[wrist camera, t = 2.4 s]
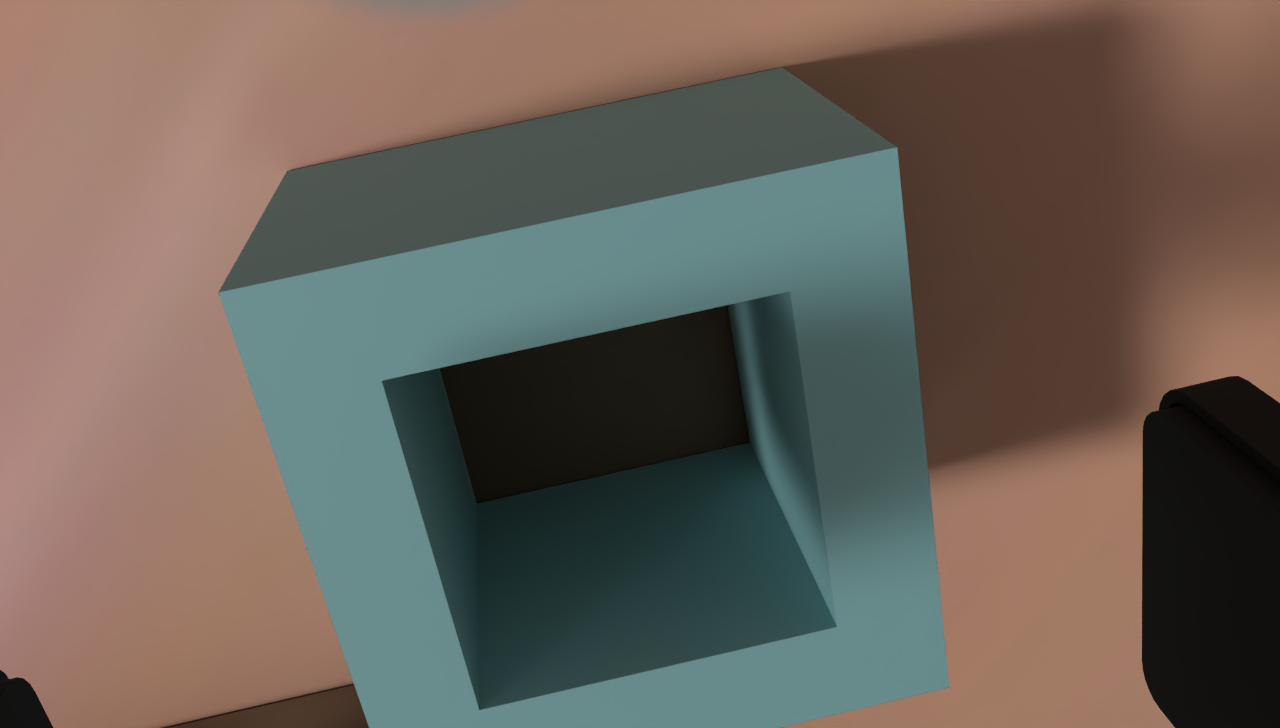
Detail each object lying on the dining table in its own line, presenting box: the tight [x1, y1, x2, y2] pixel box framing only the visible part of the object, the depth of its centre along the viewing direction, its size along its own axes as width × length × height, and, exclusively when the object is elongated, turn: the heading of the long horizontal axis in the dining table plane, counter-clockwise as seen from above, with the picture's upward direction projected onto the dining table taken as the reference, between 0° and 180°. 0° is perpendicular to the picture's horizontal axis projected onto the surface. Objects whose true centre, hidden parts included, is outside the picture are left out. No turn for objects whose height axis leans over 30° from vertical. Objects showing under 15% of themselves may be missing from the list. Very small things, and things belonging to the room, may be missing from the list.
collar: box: [218, 67, 949, 728], centre depth 16 cm, size 7×7×5 cm
